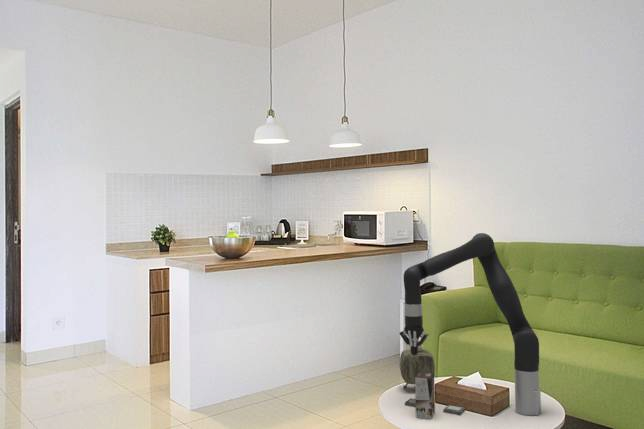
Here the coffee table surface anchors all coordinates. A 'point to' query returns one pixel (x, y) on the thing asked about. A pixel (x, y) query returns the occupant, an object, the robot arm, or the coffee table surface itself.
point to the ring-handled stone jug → (415, 364)
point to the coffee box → (425, 395)
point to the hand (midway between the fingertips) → (414, 354)
